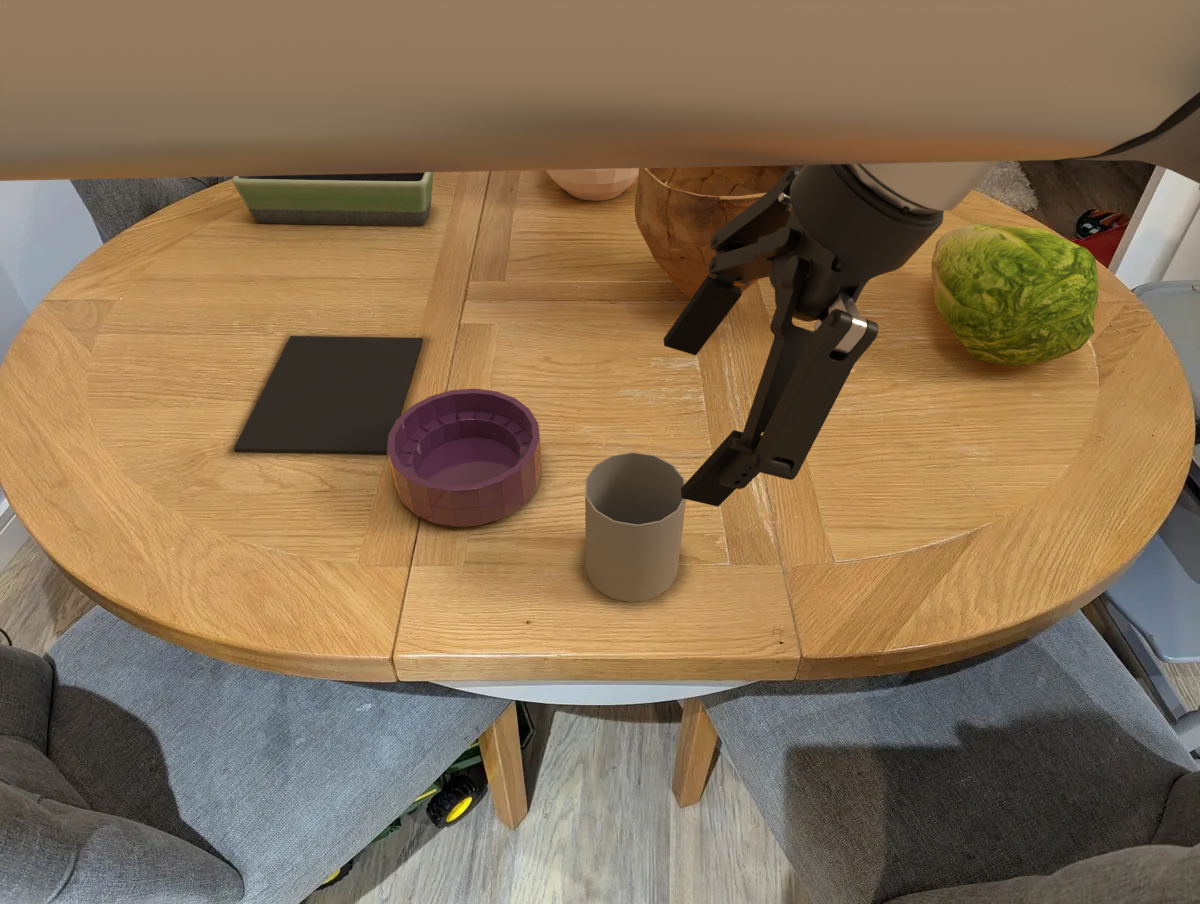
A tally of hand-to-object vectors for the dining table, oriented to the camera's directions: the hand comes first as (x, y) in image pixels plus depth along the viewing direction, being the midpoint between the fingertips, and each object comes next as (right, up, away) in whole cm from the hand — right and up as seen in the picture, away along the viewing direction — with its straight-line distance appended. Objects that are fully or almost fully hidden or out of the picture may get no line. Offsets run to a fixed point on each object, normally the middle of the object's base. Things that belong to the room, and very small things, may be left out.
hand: (688, 417), depth 56 cm
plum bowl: (-19, -5, +25) cm, 32 cm away
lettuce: (+42, +13, +45) cm, 63 cm away
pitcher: (-7, +39, +72) cm, 82 cm away
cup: (-3, -13, +17) cm, 21 cm away
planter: (-44, +33, +64) cm, 85 cm away
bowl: (+8, +17, +48) cm, 52 cm away
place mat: (-36, +4, +34) cm, 50 cm away
